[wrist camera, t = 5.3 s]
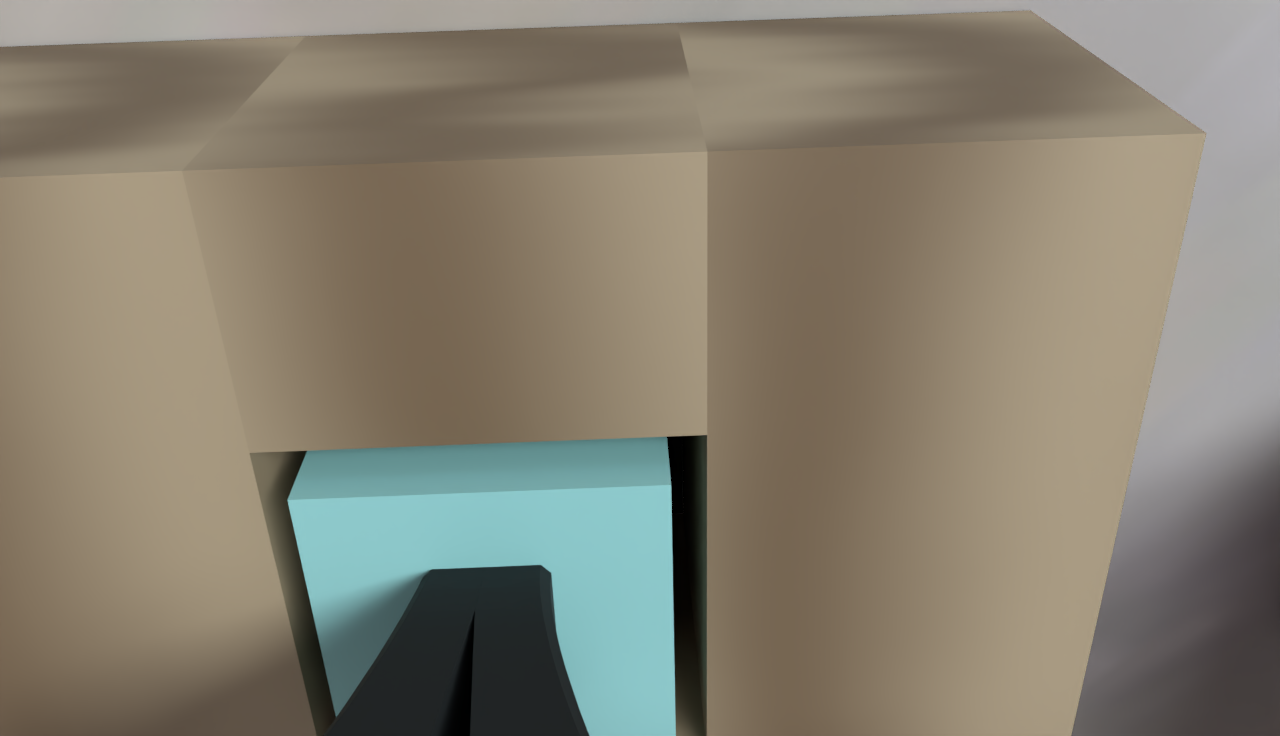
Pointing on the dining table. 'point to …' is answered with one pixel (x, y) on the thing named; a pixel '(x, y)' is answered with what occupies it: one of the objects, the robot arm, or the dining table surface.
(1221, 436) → the dining table surface
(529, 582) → the robot arm
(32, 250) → the socket block
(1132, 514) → the dining table surface
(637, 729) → the peg square
